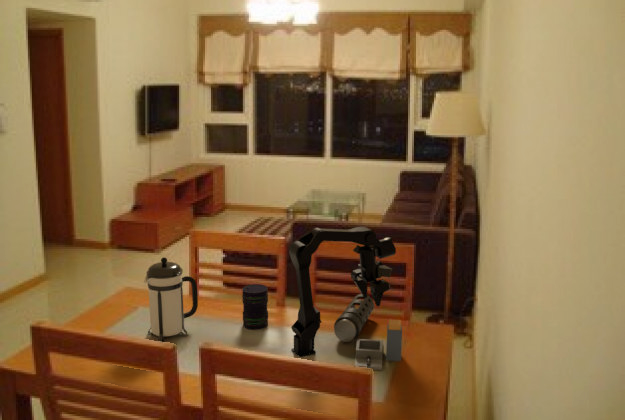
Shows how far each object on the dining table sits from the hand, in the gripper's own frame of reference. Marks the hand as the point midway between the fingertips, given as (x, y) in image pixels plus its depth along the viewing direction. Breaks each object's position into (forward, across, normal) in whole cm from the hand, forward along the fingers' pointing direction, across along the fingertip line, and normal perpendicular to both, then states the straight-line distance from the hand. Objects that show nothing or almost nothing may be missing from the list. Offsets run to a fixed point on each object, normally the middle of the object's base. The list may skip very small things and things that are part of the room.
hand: (371, 301), depth 218 cm
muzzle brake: (+14, +9, +4) cm, 17 cm away
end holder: (+13, -12, +9) cm, 20 cm away
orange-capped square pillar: (+14, -16, +2) cm, 22 cm away
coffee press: (+6, +34, +68) cm, 76 cm away
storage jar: (+10, +29, +36) cm, 48 cm away
